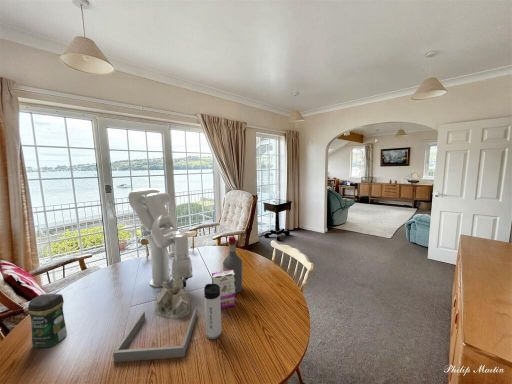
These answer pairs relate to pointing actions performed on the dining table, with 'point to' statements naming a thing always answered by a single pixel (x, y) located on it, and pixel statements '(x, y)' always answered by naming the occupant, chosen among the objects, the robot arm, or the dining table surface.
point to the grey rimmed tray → (151, 353)
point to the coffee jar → (47, 320)
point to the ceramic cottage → (173, 300)
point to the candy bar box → (226, 287)
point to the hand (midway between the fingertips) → (183, 287)
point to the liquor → (234, 264)
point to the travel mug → (212, 311)
